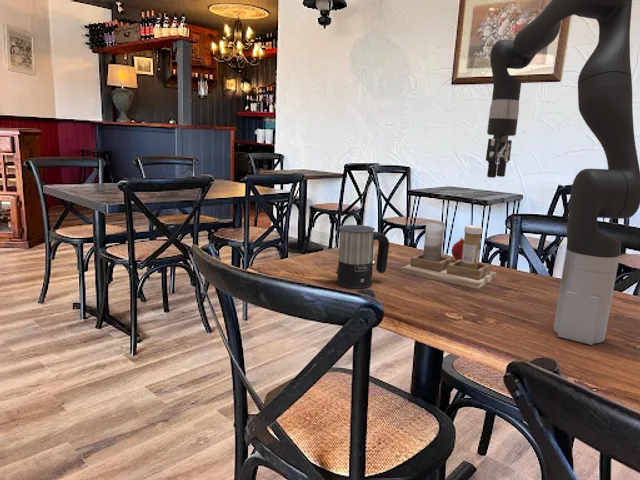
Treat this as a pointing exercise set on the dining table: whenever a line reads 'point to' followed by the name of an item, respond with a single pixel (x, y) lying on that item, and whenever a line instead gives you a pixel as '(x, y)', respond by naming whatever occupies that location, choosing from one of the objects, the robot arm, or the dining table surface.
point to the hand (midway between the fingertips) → (496, 176)
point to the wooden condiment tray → (445, 262)
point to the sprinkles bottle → (471, 246)
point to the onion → (458, 249)
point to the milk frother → (360, 255)
